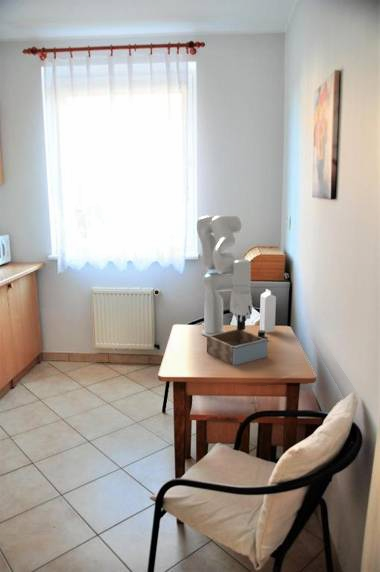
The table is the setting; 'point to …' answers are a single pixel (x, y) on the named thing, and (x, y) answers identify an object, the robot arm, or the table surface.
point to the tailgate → (249, 351)
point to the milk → (267, 311)
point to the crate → (228, 343)
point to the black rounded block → (262, 334)
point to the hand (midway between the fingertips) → (241, 329)
